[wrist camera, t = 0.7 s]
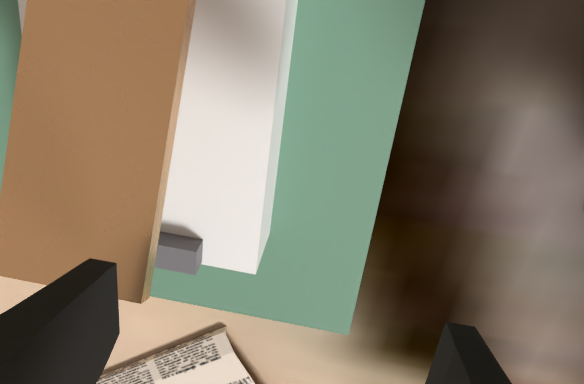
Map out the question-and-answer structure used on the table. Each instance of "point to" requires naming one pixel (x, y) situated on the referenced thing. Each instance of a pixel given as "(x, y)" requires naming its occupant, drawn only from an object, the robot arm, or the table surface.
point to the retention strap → (92, 137)
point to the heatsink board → (311, 164)
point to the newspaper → (186, 364)
